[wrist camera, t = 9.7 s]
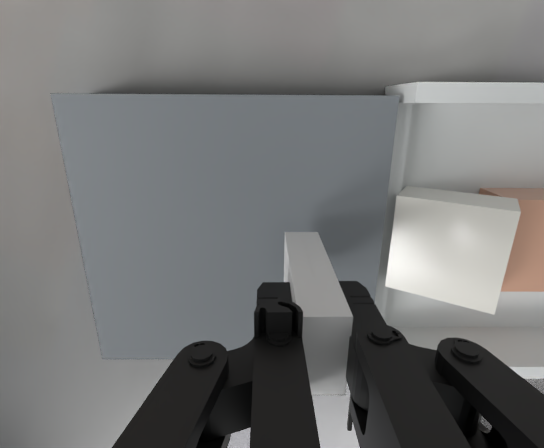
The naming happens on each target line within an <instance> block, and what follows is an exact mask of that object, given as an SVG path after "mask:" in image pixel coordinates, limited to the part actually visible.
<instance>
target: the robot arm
mask: <svg viewBox="0 0 544 448" xmlns="http://www.w3.org/2000/svg"><path fill="white" fill-rule="evenodd" d="M347 383H348V386H349V390H350V403H349V412H348V422H347V429H348V431H351V430H352V422H353V424H354V428H355V431H356V435H357V438H358V442H359V446H360V448H544V394H542V393H541V392H540V391H538V390H537V389H536V388H535V387H533V386H532V385H531V384H530V383H528V382H527V381H526V380H525V379H523V378H522V377H521V376H520V375H518V374H517V373H516V372H514V371H513V370H512V369H511V368H509V367H508V366H507V365H506V364H504V363H503V362H502V361H501V360H499V359H498V358H497V357H496V356H494V355H493V354H492V353H490V352H489V351H488V350H487V349H485V348H483V347H482V346H480V345H479V344H477V343H474V342H472V341H469V340H467V339H462V338H446V339H443V340H441V341H440V343H439V344H438V347H437V350H433V349H428V348H423V347H419V346H415V345H411V344H409V343H408V341H407V340H406V338H405V337H404V335H403V334H402V333H401V332H400V331H398V330H397V329H395V328H393V327H392V326H389V325H387V324H386V322H385V321H384V319H383V317H382V315H381V313H380V312H379V310H378V308H377V306H376V304H374V301H373V299H372V298H371V295H370V294H369V292H368V290H367V288H366V287H364V286H363V285H362V284H360V283H359V282H358V281H338V279H337V277H336V274H335V272H334V270H333V267H332V265H331V262H330V260H329V258H328V255H327V253H326V250H325V248H324V246H323V243H322V241H321V238H320V236H319V234H318V232H285V243H284V282H263V283H262V284H261V285H260V286H259V288H258V289H257V306H256V309H255V311H254V337H253V338H252V340H251V341H250V342H249V343H247V344H246V345H244V346H242V347H240V348H237V349H233V350H229V351H227V350H226V348H225V347H224V346H223V345H221V344H220V343H217V342H214V341H199V342H194V343H192V344H190V345H188V346H186V347H184V348H183V349H182V350H181V351H180V352H179V353H178V354H177V356H176V357H175V358H174V360H173V361H172V363H171V364H170V366H169V367H168V368H167V370H166V371H165V373H164V374H163V376H162V377H161V378H160V380H159V381H158V383H157V384H156V386H155V387H154V388H153V390H152V391H151V393H150V394H149V396H148V397H147V398H146V400H145V401H144V403H143V404H142V406H141V407H140V408H139V410H138V411H137V413H136V414H135V416H134V417H133V418H132V420H131V421H130V423H129V424H128V426H127V427H126V428H125V430H124V431H123V433H122V434H121V435H120V437H119V438H118V440H117V441H116V443H115V444H114V445H113V447H112V448H227V446H228V443H229V441H230V436H231V434H232V433H235V432H238V431H241V430H244V429H247V428H250V427H251V433H250V448H320V443H319V437H318V431H317V425H316V419H315V413H314V407H313V400H312V395H345V394H346V384H347ZM481 416H483V417H484V418H485V419H486V420H487V421H488V422H489V423H490V424H491V425H492V429H491V430H488V429H487V428H486V427H485V426H484V425H483V424H482V423H481V422H480V420H481Z"/></svg>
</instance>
